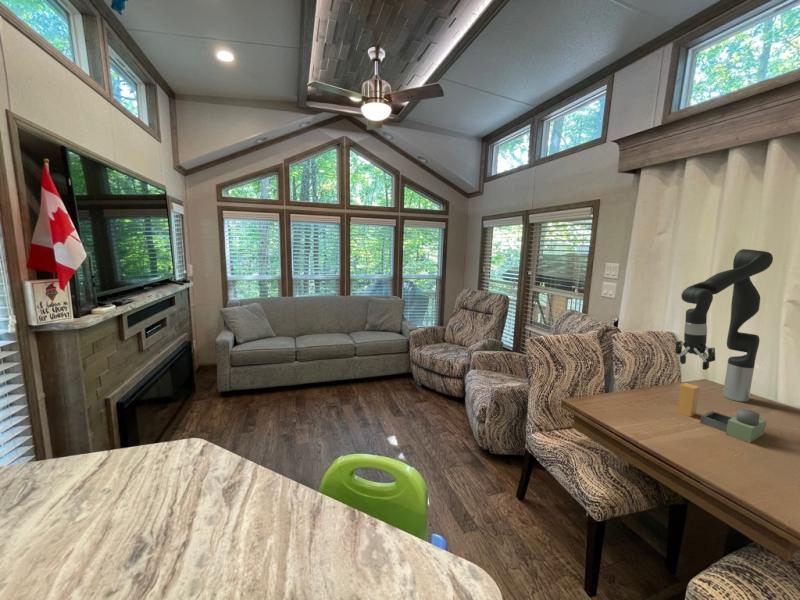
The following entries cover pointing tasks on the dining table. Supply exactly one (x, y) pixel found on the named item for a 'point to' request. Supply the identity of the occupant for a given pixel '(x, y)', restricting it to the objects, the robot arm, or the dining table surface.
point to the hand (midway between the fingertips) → (693, 366)
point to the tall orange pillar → (688, 399)
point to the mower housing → (746, 425)
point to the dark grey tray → (709, 420)
